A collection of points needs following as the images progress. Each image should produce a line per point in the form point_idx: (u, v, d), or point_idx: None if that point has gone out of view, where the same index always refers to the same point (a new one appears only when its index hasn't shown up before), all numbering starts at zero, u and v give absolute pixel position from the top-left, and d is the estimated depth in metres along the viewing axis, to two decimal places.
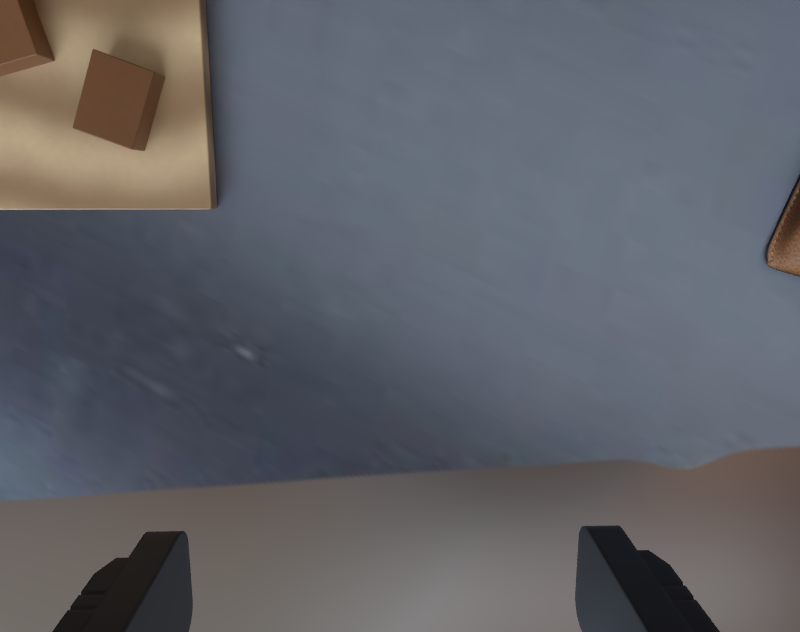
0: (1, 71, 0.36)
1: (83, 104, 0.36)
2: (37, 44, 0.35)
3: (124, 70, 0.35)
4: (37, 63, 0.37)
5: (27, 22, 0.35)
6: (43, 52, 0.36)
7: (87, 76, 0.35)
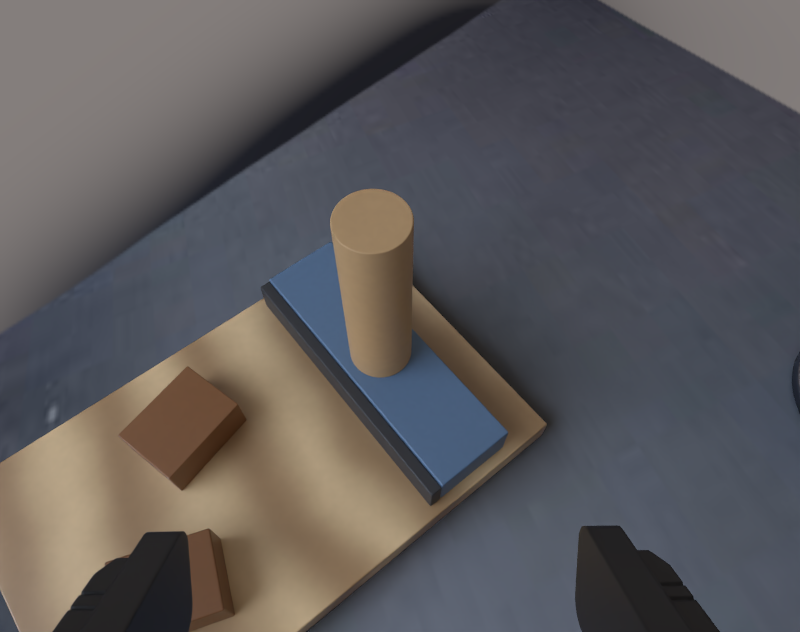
0: (136, 452, 0.31)
1: None
2: (181, 471, 0.29)
3: (205, 576, 0.27)
4: None
5: (198, 450, 0.30)
6: (178, 479, 0.30)
7: None
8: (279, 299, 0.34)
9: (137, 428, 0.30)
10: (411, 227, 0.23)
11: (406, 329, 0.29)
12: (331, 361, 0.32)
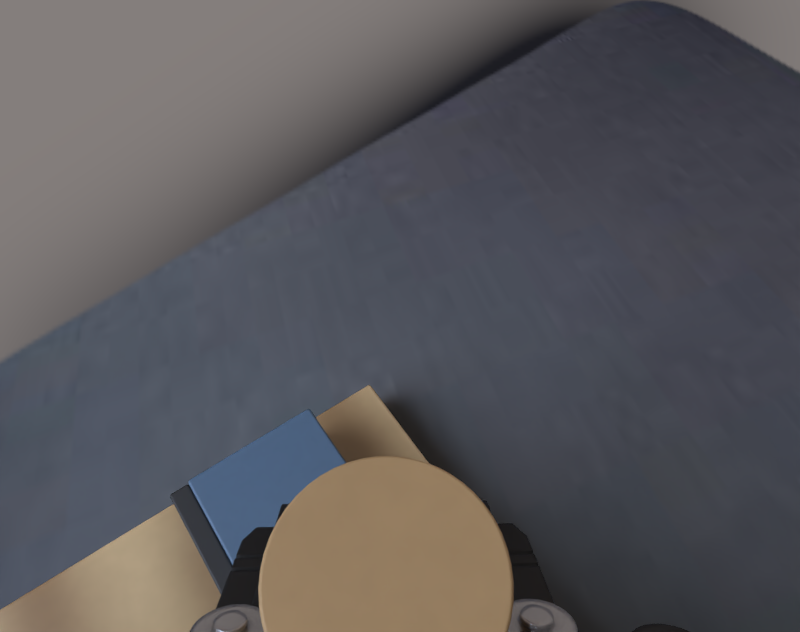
0: None
1: None
2: None
3: None
4: None
5: None
6: None
7: None
8: (201, 523, 0.18)
9: None
10: (508, 615, 0.07)
11: None
12: None
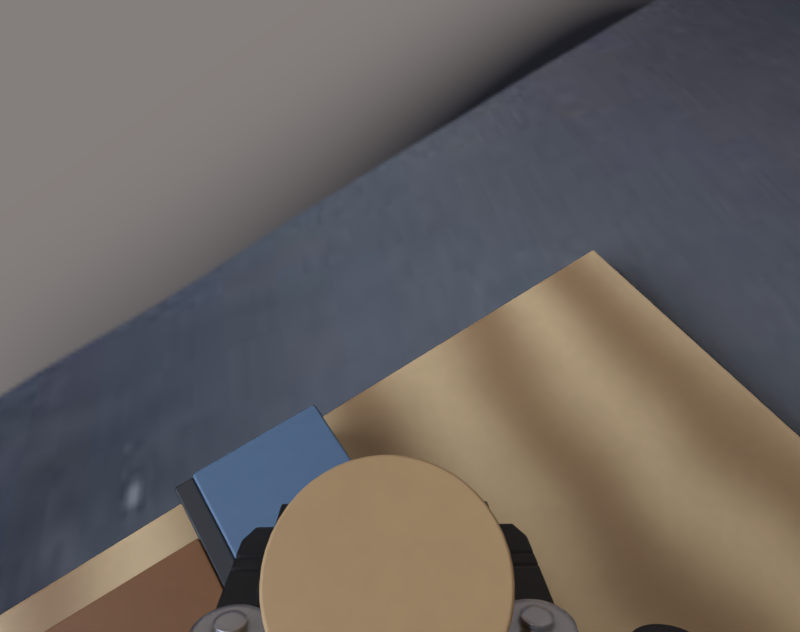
0: None
1: None
2: None
3: None
4: None
5: None
6: None
7: None
8: (205, 517, 0.18)
9: None
10: (508, 617, 0.07)
11: None
12: None
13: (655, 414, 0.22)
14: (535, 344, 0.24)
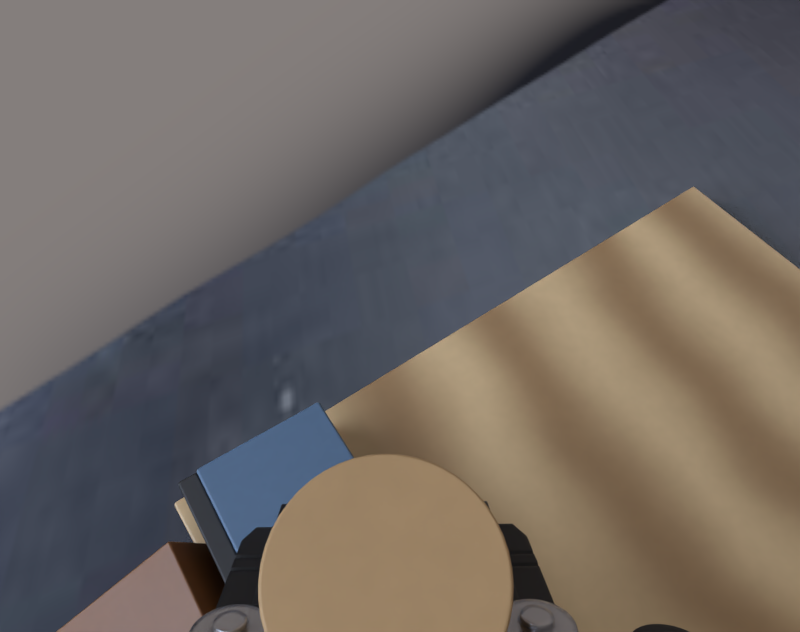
0: None
1: None
2: None
3: None
4: None
5: None
6: None
7: None
8: (208, 512, 0.18)
9: None
10: (506, 619, 0.07)
11: None
12: None
13: (766, 328, 0.24)
14: (649, 268, 0.26)
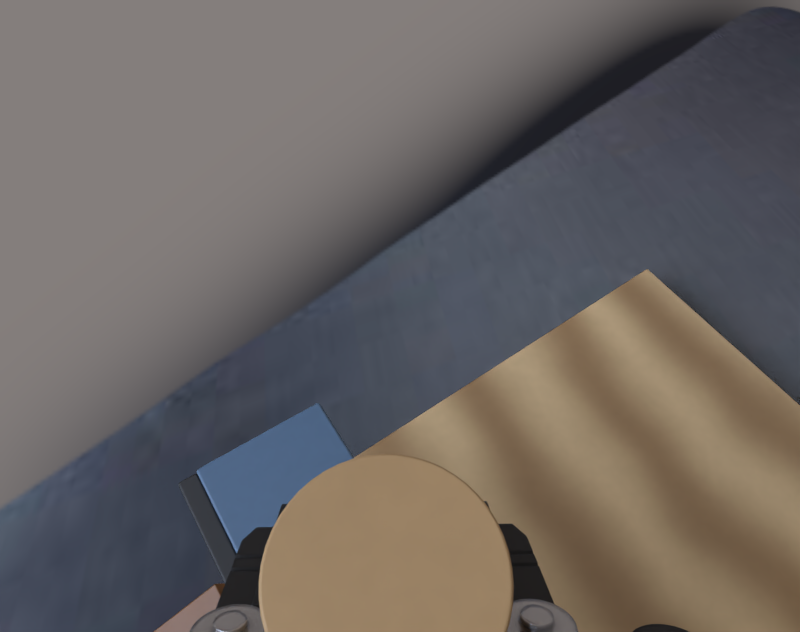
0: None
1: None
2: None
3: None
4: None
5: None
6: None
7: None
8: (208, 513, 0.18)
9: None
10: (506, 619, 0.07)
11: None
12: None
13: (701, 398, 0.29)
14: (605, 343, 0.30)
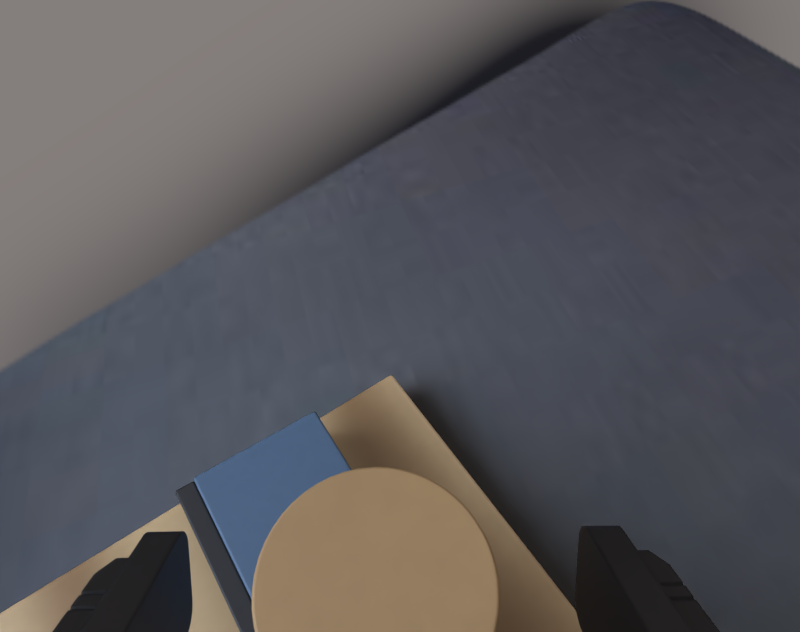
0: None
1: None
2: None
3: None
4: None
5: None
6: None
7: None
8: (204, 521, 0.18)
9: None
10: (492, 629, 0.08)
11: None
12: None
13: None
14: None
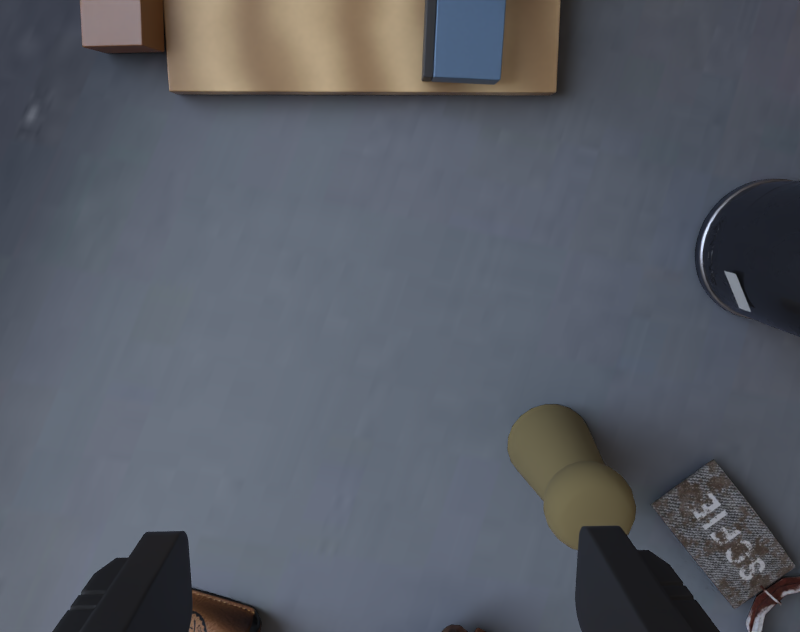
0: None
1: None
2: None
3: (134, 18, 0.38)
4: None
5: None
6: None
7: None
8: None
9: None
10: None
11: None
12: None
13: None
14: None
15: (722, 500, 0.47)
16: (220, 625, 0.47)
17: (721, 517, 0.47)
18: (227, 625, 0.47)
